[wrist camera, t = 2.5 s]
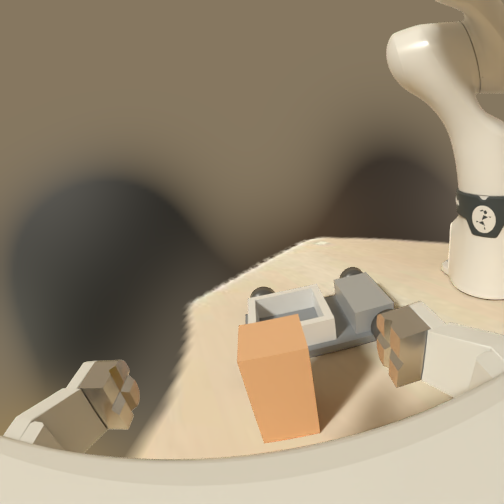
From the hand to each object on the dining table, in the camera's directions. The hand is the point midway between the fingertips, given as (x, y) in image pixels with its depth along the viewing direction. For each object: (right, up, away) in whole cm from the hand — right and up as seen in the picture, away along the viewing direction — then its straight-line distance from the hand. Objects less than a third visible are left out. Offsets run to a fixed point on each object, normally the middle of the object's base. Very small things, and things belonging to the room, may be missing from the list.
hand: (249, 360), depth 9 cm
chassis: (+9, -7, +31) cm, 33 cm away
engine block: (+4, -12, +17) cm, 21 cm away
